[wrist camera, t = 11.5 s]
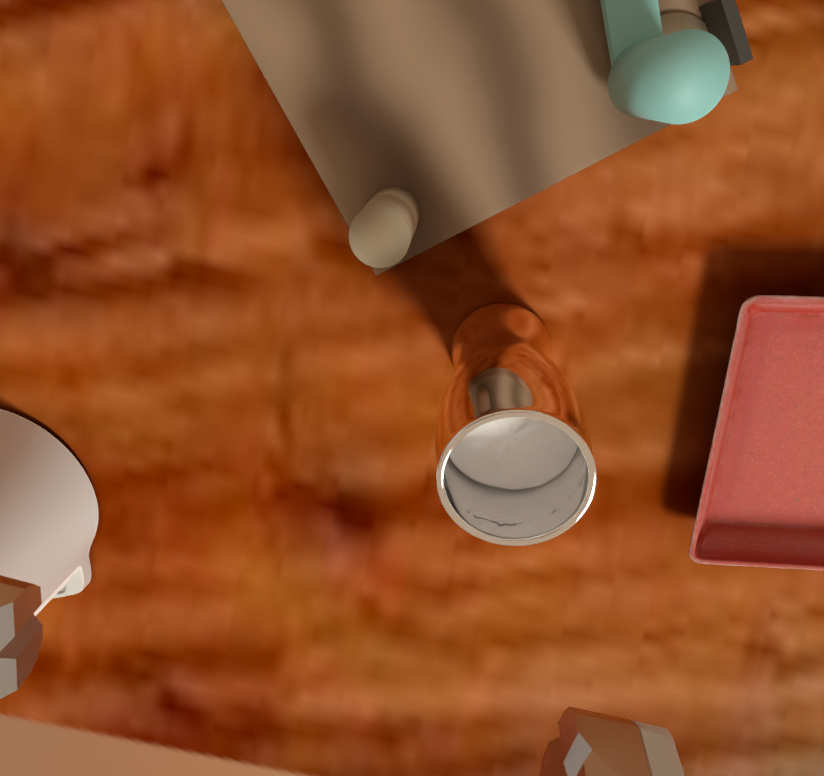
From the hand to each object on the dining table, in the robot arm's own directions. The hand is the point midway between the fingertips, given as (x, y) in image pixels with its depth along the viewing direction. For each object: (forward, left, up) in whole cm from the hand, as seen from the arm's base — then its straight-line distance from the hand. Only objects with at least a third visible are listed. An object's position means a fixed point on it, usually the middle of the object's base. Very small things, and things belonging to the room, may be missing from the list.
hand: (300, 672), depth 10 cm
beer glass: (+1, -8, -31) cm, 32 cm away
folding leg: (+14, +7, -28) cm, 32 cm away
